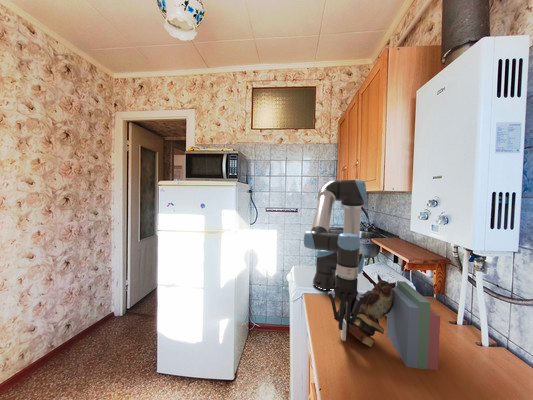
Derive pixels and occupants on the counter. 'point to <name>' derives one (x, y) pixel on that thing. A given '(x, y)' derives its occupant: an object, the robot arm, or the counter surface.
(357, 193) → the robot arm
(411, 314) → the book row
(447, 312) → the counter surface
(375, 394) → the counter surface
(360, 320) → the bookend
